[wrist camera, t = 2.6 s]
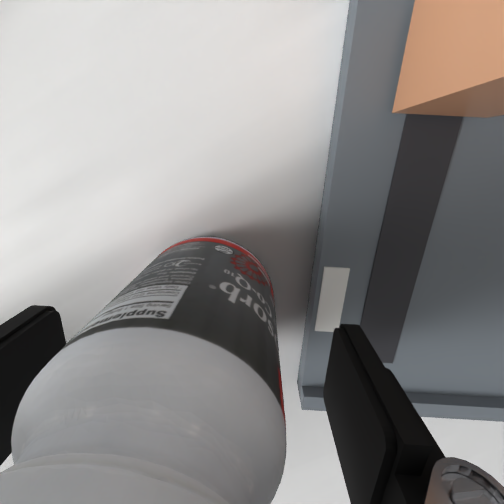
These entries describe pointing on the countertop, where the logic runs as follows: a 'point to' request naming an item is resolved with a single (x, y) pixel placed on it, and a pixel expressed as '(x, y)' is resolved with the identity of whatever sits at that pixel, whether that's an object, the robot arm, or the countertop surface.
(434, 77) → the orange rectangular block
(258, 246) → the countertop surface
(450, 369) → the grey tray
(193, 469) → the pill bottle
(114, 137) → the countertop surface
